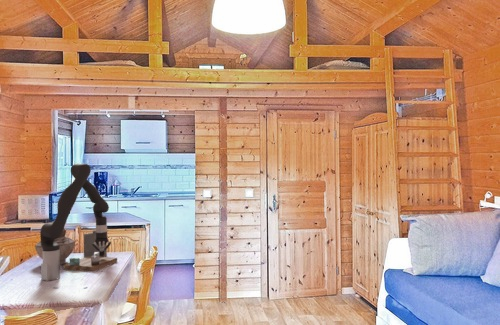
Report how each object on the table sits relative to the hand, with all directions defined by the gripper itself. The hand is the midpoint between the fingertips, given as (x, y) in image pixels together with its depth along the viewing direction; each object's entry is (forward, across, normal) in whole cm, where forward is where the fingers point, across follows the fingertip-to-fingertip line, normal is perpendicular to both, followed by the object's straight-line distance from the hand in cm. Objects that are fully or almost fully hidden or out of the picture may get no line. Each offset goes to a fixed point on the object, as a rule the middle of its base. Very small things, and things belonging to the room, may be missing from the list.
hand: (102, 256), depth 276 cm
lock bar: (+1, -4, -7) cm, 8 cm away
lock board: (+5, -7, -5) cm, 10 cm away
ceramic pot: (+5, -30, +11) cm, 33 cm away
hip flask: (+5, -5, +21) cm, 22 cm away
